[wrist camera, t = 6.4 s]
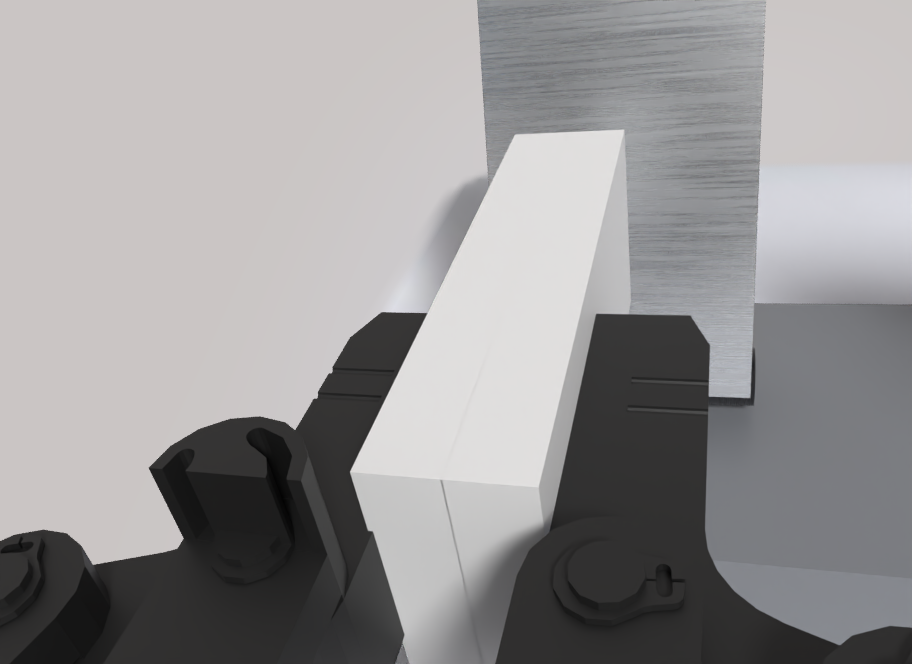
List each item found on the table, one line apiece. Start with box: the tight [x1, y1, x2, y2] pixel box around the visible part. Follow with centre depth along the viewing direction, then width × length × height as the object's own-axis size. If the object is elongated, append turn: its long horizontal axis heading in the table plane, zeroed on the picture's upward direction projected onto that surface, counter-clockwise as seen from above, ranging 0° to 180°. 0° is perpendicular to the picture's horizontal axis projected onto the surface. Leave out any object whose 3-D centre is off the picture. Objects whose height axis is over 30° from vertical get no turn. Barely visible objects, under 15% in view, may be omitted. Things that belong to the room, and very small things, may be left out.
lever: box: [477, 0, 766, 406], centre depth 16 cm, size 2×5×12 cm, turn 76°
